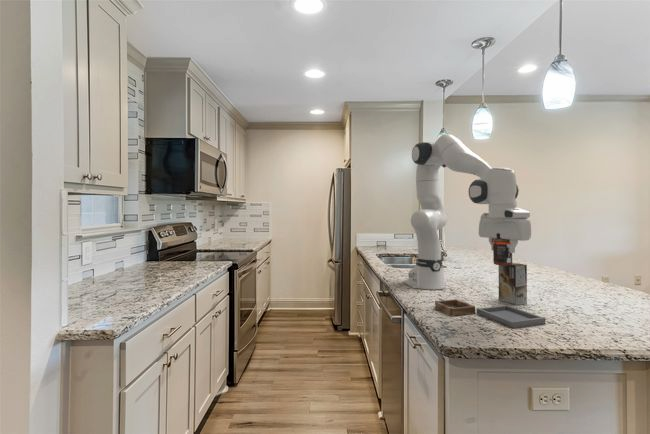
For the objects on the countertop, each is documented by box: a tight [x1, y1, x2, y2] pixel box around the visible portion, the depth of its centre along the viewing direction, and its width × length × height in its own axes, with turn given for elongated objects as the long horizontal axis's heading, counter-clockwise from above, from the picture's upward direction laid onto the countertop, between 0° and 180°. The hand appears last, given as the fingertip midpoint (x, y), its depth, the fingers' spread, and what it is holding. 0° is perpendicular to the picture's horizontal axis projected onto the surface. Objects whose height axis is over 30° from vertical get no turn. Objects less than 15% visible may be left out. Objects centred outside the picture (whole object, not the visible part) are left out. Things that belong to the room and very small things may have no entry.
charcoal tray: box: [476, 304, 546, 329], centre depth 118 cm, size 16×14×2 cm
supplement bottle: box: [492, 233, 513, 266], centre depth 118 cm, size 6×6×11 cm
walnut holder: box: [434, 299, 476, 317], centre depth 128 cm, size 11×11×2 cm
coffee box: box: [498, 261, 528, 306], centre depth 139 cm, size 9×6×16 cm
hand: (502, 251), depth 118 cm, fingers closed on supplement bottle, 6 cm apart
